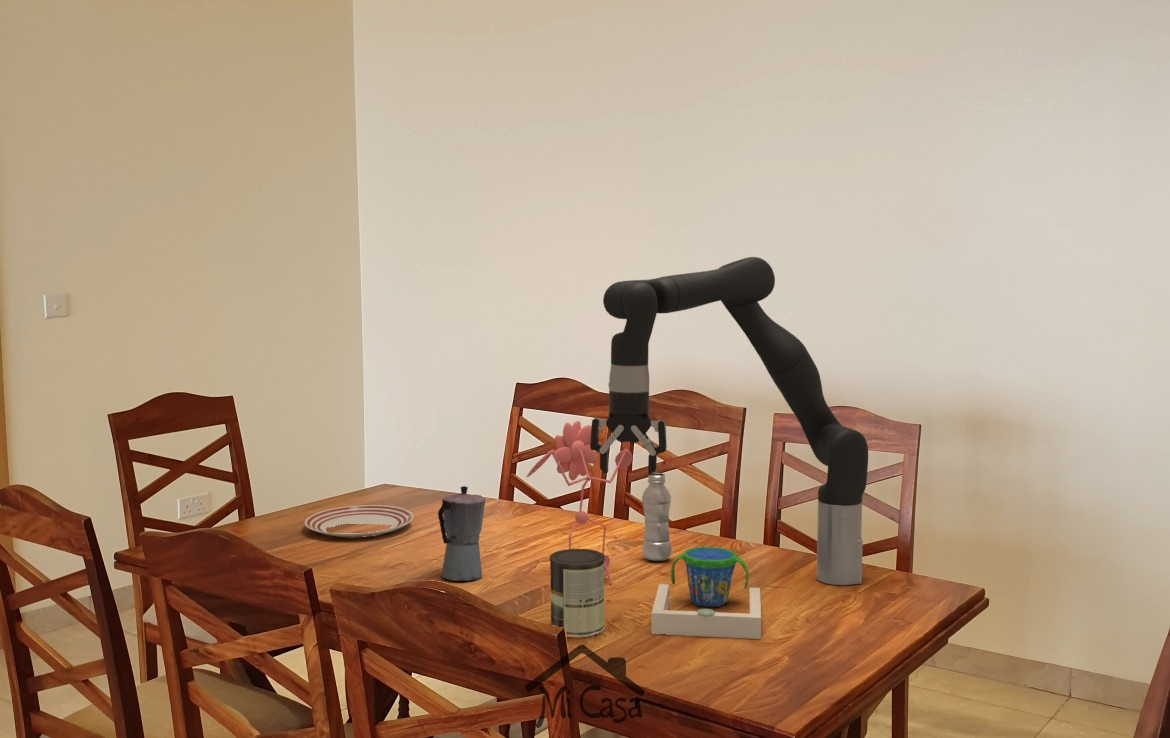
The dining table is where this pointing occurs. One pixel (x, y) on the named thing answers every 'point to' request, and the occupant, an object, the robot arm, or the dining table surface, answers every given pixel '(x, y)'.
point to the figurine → (580, 467)
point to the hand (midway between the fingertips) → (628, 473)
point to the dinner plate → (359, 519)
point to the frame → (705, 619)
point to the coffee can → (577, 591)
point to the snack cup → (709, 574)
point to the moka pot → (461, 535)
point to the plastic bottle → (656, 519)
